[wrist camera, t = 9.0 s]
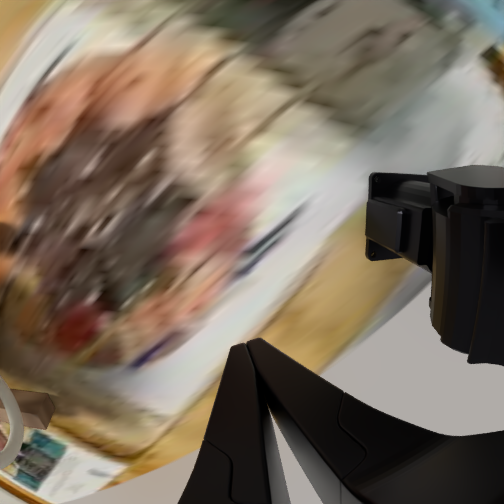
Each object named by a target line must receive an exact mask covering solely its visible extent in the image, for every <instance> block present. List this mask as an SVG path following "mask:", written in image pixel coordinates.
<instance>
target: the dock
mask: <svg viewBox="0 0 504 504" xmlns="http://www.w3.org/2000/svg"><path fill="white" fill-rule="evenodd" d="M10 390H11V392H12V393H13V395H14V397H15V399H16V401H17V404H18V406H19V409H20V412H21V415H22V419H23V426H25V427H31V428H37V429H43V430H46V429H47V427H48V424H49V422H50V420H51V417H52V415H53V413H54V410H55V408H54V406H53V404H52V402H51V400H50V398H49V396H48V394H47V393H38V392H29V391H21V390H14V389H10ZM0 421H2V422H6V423H10V422H9V418H8V415H7V412H6V409H5V407H4V404H3V402H2V400H1V398H0Z"/></svg>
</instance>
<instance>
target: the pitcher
mask: <svg viewBox="0 0 504 504" xmlns="http://www.w3.org/2000/svg"><path fill="white" fill-rule="evenodd" d="M0 398H1V400H2V402H3V404H4V407H5V409H6V412H7V415H8V418H9V422H10V435H9V439H8V442H7V444H6V446H5V448H4V449H3V450H2V451H1V452H0V469H2V468H5V467H7V466H8V465H9V464H11V463H12V462H13V461H14V459H15V458H16V456H17V455H18V453H19V451H20V448H21V445H22V442H23V436H24V426H23V419H22V415H21V412H20V409H19V406H18V404H17V401H16V399H15V397H14V395H13V393H12V392H11V390H10V388H9V387H8V385H7V384H6V382H5V381H4V379H3V378H2V376H1V375H0Z"/></svg>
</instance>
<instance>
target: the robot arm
mask: <svg viewBox="0 0 504 504" xmlns="http://www.w3.org/2000/svg"><path fill="white" fill-rule="evenodd" d="M375 177H377V179H378V180H377V182H375V180H374V179H375ZM365 235H366V237H367V238H366V252H365V255H366V258H367V259H369V260H370V261H378V260H388V259H397V258H405V259H407V260H408V261H410V262H412V263H414V264H416V265H418V266H419V267H421V268H423V269H425V270H426V271H428V272H430V273H432V287H431V297H430V299H429V307H430V309H431V311H430V312H431V313H430V317H431V322H432V326H433V327H434V329H435V330H436V331H437V332H438V334H439V335H440V336H441V339H440V340H441V342H442V343H443V344H445V345H446V346H448V347H450V348H451V349H453V350H456V351H458V352H461V353H464V354H469V355H468V360H467V362H468V363H469V364H479V363H489V364H497V365H502V366H504V168H503V167H498V166H485V165H470V166H463V167H456V168H450V169H443V170H437V171H431V172H427V175H417V174H400V173H380V172H374V173H372V174H370V176H369V194H368V202H367V210H366V231H365ZM373 251H374V254H373V255H372V256H371V253H372V252H373ZM268 407H269V408H268ZM269 410H270V411H269ZM270 412H271V414H272V416H273V418H274V420H275V422H276V424H277V425H278V427H279V429H280V431H281V433H282V434H283V436H284V438H285V440H286V442H287V443H288V445H289V447H290V448H291V450H292V452H293V454H294V456H295V457H296V459H297V461H298V462H299V464H300V466H301V467H302V469H303V471H304V472H305V474H306V476H307V478H308V479H309V481H310V483H311V484H312V486H313V488H314V489H315V491H316V493H317V494H318V496H319V497H320V499H321V501H322V502H323V504H504V430H503V431H497V432H490V433H483V434H476V435H468V436H450V435H444V434H439V433H436V432H433V431H430V430H427V429H424V428H422V427H419V426H416V425H414V424H411V423H408V422H406V421H403V420H400V419H398V418H395V417H393V416H391V415H388V414H386V413H384V412H381V411H379V410H377V409H375V408H373V407H371V406H369V405H367V404H365V403H363V402H361V401H360V400H358V399H356V398H354V397H353V396H351V395H349V394H348V393H346V392H345V393H344V392H343V390H341V389H339V388H338V387H336V386H334V385H332V384H331V383H330V382H328V381H326V380H325V379H323V378H322V377H320V376H318V375H317V374H315V373H314V372H312V371H311V370H309V369H307V368H306V367H304V366H303V365H301V364H300V363H298V362H297V361H295V360H293V359H292V358H290V357H289V356H287V355H286V354H284V353H283V352H281V351H280V350H278V349H277V348H275V347H274V346H272V345H271V344H269V343H268V342H266V341H265V340H263V339H262V338H256V339H253V340H250V341H247V343H246V344H245V343H240V344H237V345H234V346H232V347H231V348H230V351H229V355H228V358H227V361H226V365H225V368H224V372H223V375H222V378H221V382H220V385H219V388H218V392H217V395H216V398H215V402H214V405H213V408H212V412H211V415H210V418H209V422H208V425H207V428H206V432H205V435H204V440H203V441H202V445H201V448H200V451H199V454H198V458H197V460H196V463H195V466H194V469H193V471H192V474H191V476H190V478H189V480H188V483H187V485H186V487H185V489H184V491H183V494H182V496H181V498H180V500H179V502H178V504H291V503H290V498H289V494H288V490H287V486H286V481H285V477H284V472H283V468H282V463H281V459H280V454H279V450H278V445H277V441H276V436H275V432H274V427H273V423H272V418H271V415H270Z"/></svg>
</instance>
